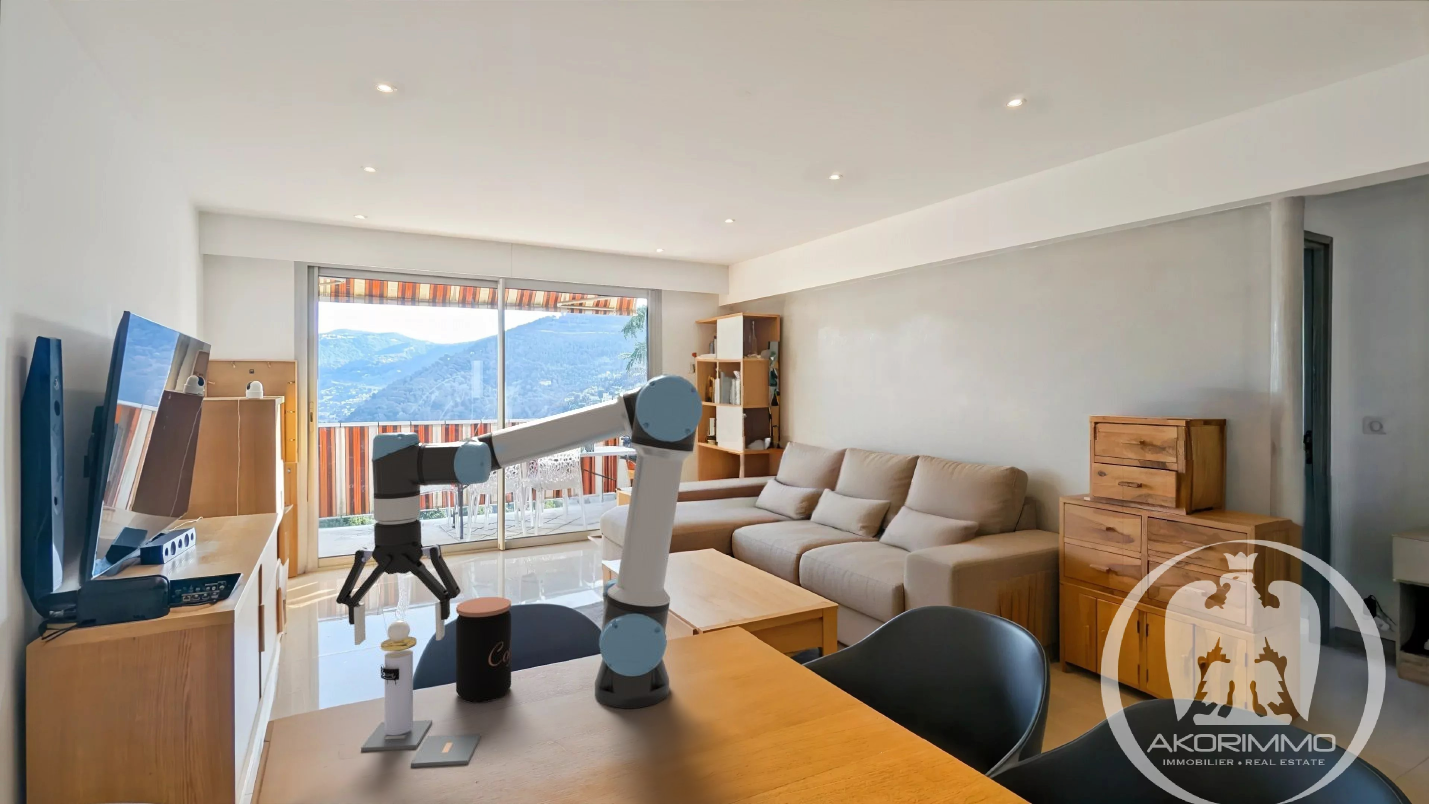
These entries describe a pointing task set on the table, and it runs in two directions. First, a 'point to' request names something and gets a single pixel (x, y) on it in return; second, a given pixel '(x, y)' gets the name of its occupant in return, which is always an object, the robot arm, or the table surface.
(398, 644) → the perfume bottle
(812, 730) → the table surface
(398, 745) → the slate code tile
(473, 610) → the coffee jar
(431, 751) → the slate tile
